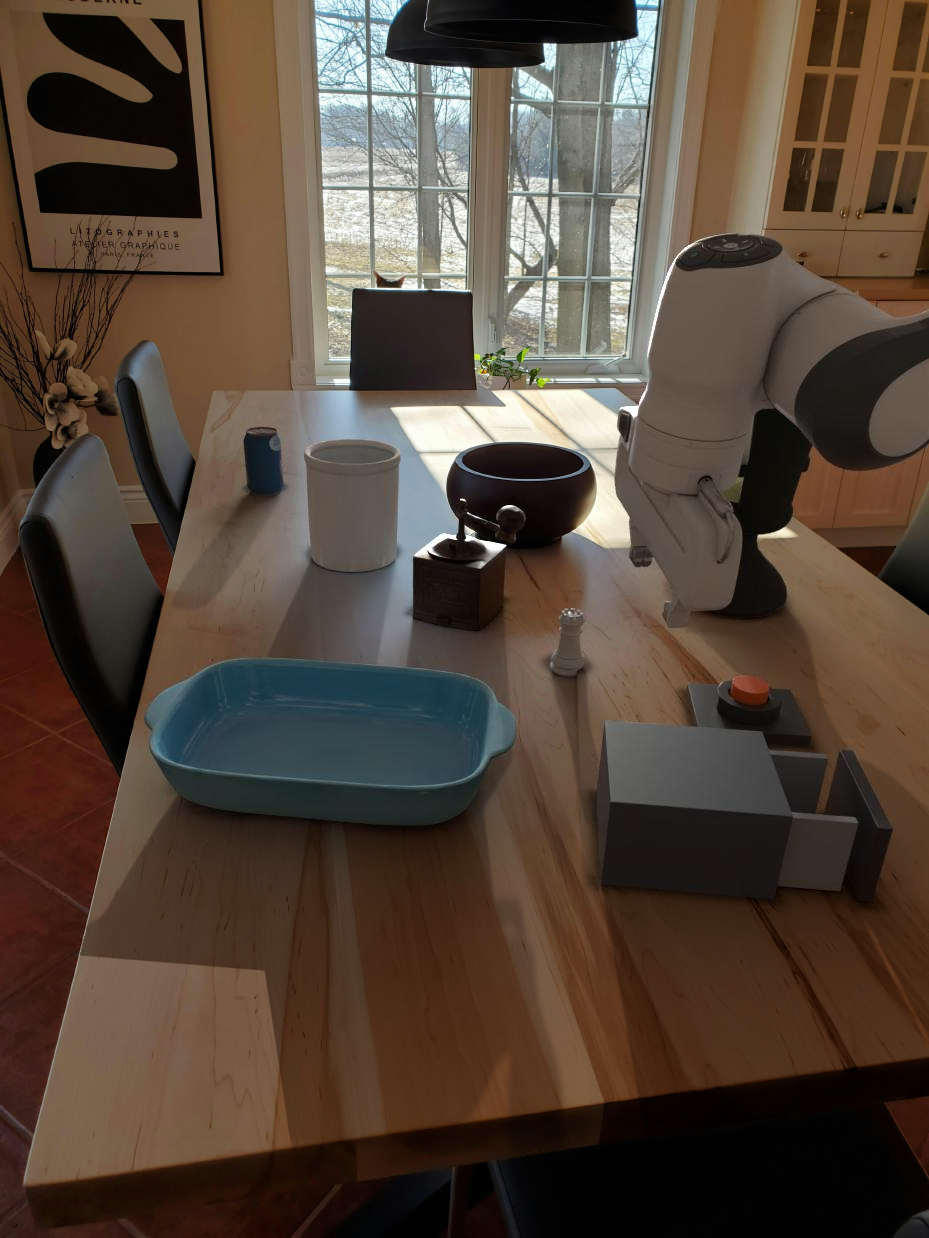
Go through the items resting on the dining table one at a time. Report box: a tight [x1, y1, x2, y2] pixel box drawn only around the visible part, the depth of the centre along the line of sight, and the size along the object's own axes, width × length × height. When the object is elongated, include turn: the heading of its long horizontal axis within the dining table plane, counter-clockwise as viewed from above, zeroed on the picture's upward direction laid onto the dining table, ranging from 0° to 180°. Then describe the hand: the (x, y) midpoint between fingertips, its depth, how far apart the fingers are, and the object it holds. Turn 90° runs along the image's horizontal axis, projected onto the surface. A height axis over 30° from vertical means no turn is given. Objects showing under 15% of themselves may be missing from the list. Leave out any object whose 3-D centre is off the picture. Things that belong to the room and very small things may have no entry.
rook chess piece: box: [549, 607, 586, 678], centre depth 111 cm, size 4×4×8 cm
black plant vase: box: [670, 289, 860, 619], centre depth 123 cm, size 19×22×45 cm
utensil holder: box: [303, 438, 402, 573], centre depth 141 cm, size 15×15×18 cm
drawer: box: [769, 748, 894, 903], centre depth 80 cm, size 15×11×8 cm
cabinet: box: [595, 719, 793, 901], centre depth 81 cm, size 15×13×10 cm
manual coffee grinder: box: [412, 498, 527, 631], centre depth 123 cm, size 16×11×18 cm
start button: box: [730, 674, 771, 705], centre depth 101 cm, size 4×4×2 cm
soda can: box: [242, 426, 285, 497], centre depth 171 cm, size 7×7×12 cm
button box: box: [685, 679, 813, 748], centre depth 102 cm, size 12×10×4 cm
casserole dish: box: [143, 657, 517, 827], centre depth 91 cm, size 37×22×7 cm, turn 85°
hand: (655, 591), depth 81 cm, fingers open, 8 cm apart
